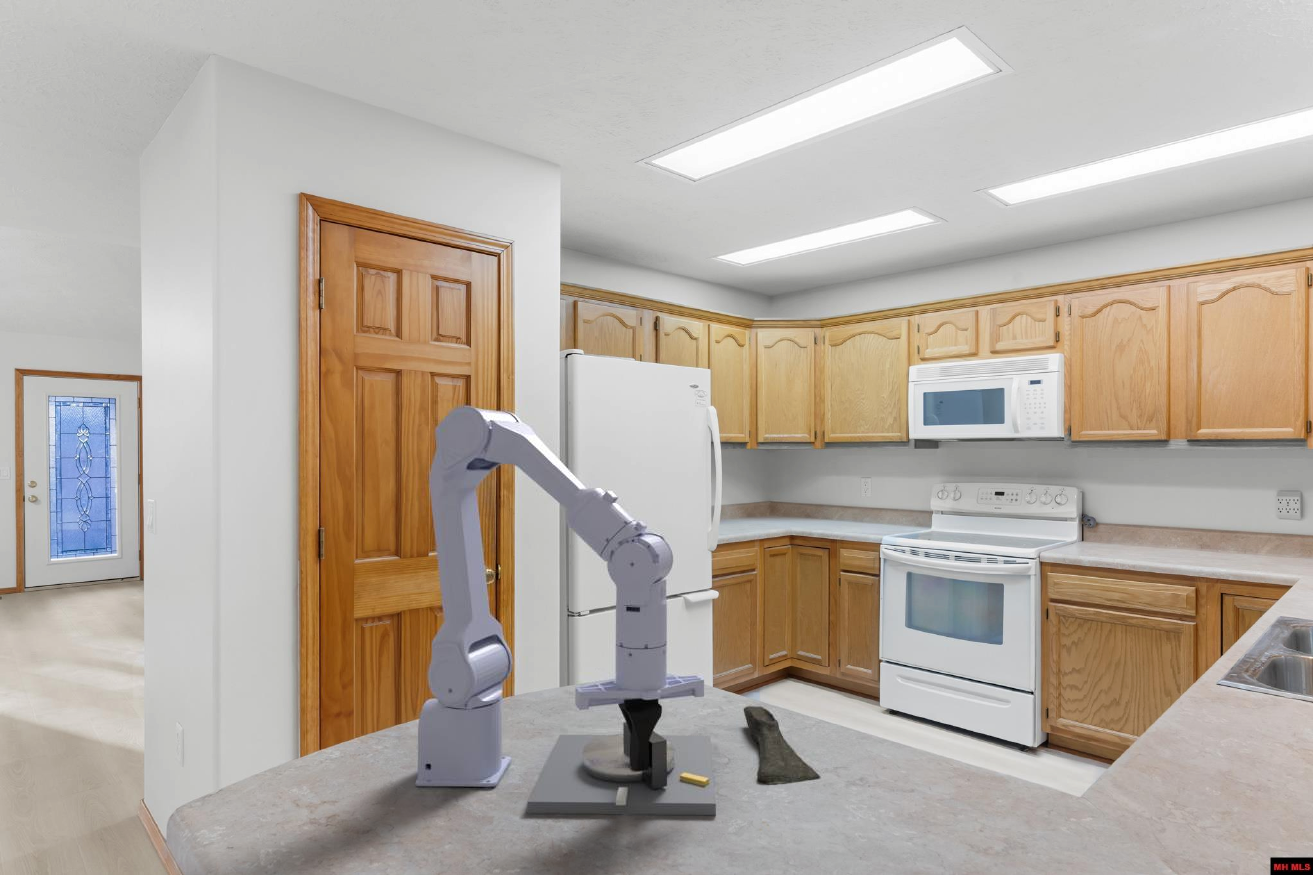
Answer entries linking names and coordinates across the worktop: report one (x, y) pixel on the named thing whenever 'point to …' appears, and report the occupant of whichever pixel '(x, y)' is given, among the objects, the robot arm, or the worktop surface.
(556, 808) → the board
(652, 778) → the dial
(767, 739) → the tool
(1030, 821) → the worktop surface
